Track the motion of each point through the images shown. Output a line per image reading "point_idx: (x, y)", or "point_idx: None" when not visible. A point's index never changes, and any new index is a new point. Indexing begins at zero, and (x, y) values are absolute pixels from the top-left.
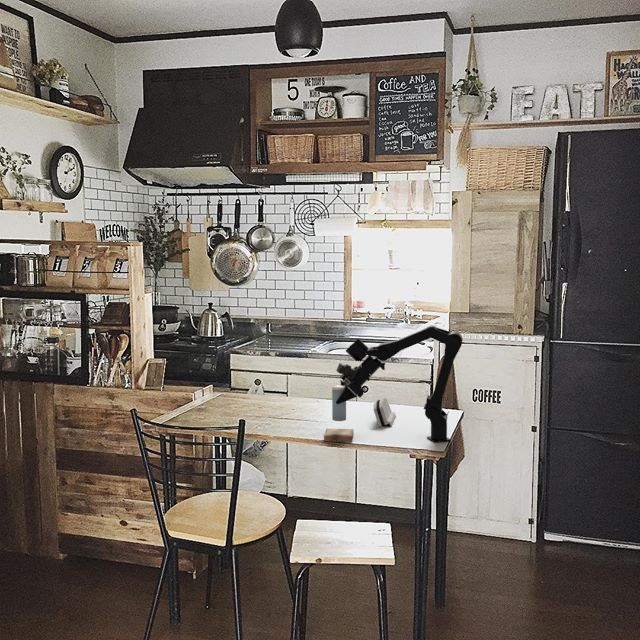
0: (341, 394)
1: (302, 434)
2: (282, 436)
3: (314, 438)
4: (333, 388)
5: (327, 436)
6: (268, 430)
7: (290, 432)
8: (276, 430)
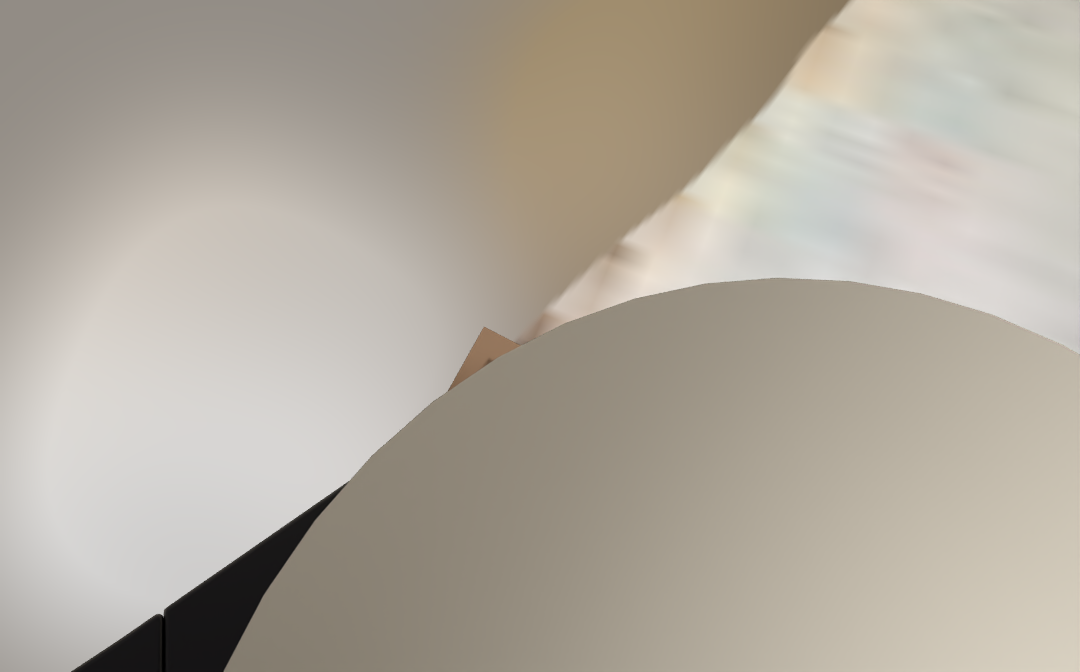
0: (176, 655)
1: (827, 240)
2: (813, 47)
3: (632, 293)
4: (649, 306)
5: (464, 365)
6: (1064, 9)
7: (938, 161)
8: (1048, 71)
